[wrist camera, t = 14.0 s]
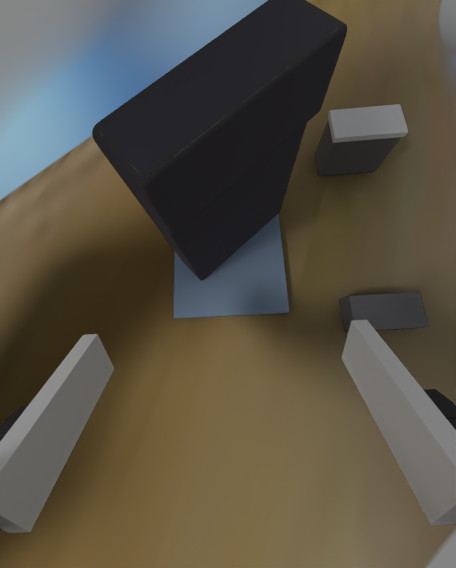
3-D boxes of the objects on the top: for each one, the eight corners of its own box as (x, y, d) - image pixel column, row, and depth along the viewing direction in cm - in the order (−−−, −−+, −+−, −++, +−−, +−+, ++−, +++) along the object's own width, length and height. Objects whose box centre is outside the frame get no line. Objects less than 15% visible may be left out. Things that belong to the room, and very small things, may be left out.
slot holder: (342, 331, 21) (372, 328, 16) (313, 153, 26) (329, 110, 21) (413, 328, 21) (465, 324, 16) (370, 148, 26) (400, 103, 21)
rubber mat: (175, 318, 22) (173, 318, 22) (177, 179, 26) (175, 175, 26) (288, 312, 22) (289, 312, 21) (272, 171, 26) (273, 167, 25)
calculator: (255, 190, 25) (276, -25, 10) (284, 216, 24) (353, 19, 9) (178, 256, 23) (73, 117, 9) (205, 286, 22) (140, 186, 8)
